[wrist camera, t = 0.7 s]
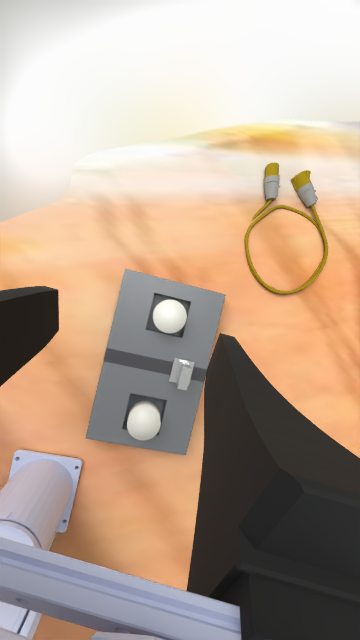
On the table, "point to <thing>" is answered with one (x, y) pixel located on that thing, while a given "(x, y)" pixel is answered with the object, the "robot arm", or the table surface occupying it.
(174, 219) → the table surface
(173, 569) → the table surface
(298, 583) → the robot arm
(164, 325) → the button
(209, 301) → the switch panel
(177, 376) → the slider tab
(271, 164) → the extension cord
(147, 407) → the button
